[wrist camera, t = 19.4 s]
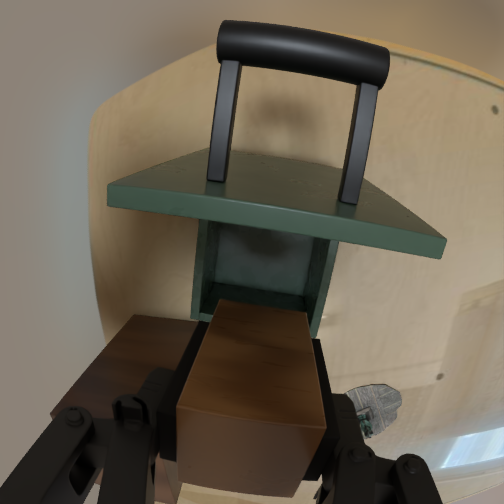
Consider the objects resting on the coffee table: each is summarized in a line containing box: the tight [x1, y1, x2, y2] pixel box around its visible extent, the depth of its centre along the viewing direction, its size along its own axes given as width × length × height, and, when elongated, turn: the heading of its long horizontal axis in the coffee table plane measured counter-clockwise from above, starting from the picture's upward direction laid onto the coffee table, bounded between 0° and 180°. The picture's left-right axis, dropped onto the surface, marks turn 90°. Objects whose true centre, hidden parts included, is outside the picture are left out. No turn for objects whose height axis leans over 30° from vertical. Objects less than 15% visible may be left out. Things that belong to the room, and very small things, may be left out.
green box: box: [190, 219, 339, 338], centre depth 30 cm, size 15×12×9 cm
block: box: [176, 299, 327, 498], centre depth 12 cm, size 4×4×8 cm
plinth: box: [50, 315, 198, 504], centre depth 30 cm, size 10×10×20 cm
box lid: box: [107, 20, 447, 259], centre depth 15 cm, size 15×12×7 cm
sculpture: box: [345, 385, 402, 439], centre depth 41 cm, size 12×9×8 cm
